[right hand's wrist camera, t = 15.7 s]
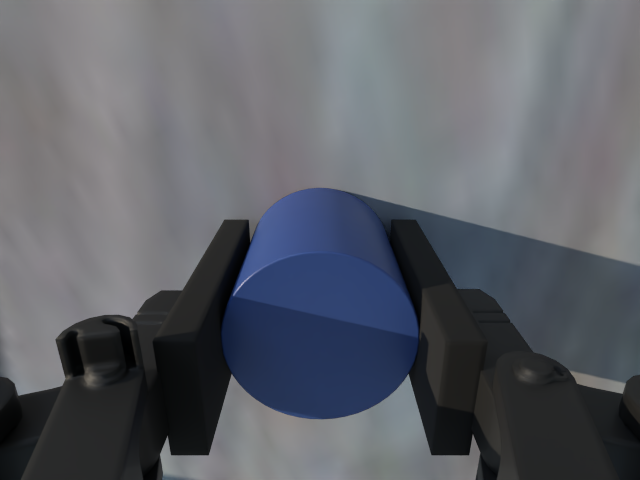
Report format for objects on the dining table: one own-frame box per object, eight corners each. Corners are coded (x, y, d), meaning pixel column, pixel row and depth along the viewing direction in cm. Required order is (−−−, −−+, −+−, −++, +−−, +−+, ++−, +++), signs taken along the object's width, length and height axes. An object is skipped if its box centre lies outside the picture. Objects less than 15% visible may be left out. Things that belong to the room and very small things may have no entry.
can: (276, 326, 16) (258, 437, 11) (231, 209, 14) (188, 282, 10) (402, 295, 15) (437, 396, 11) (370, 170, 14) (395, 226, 9)
